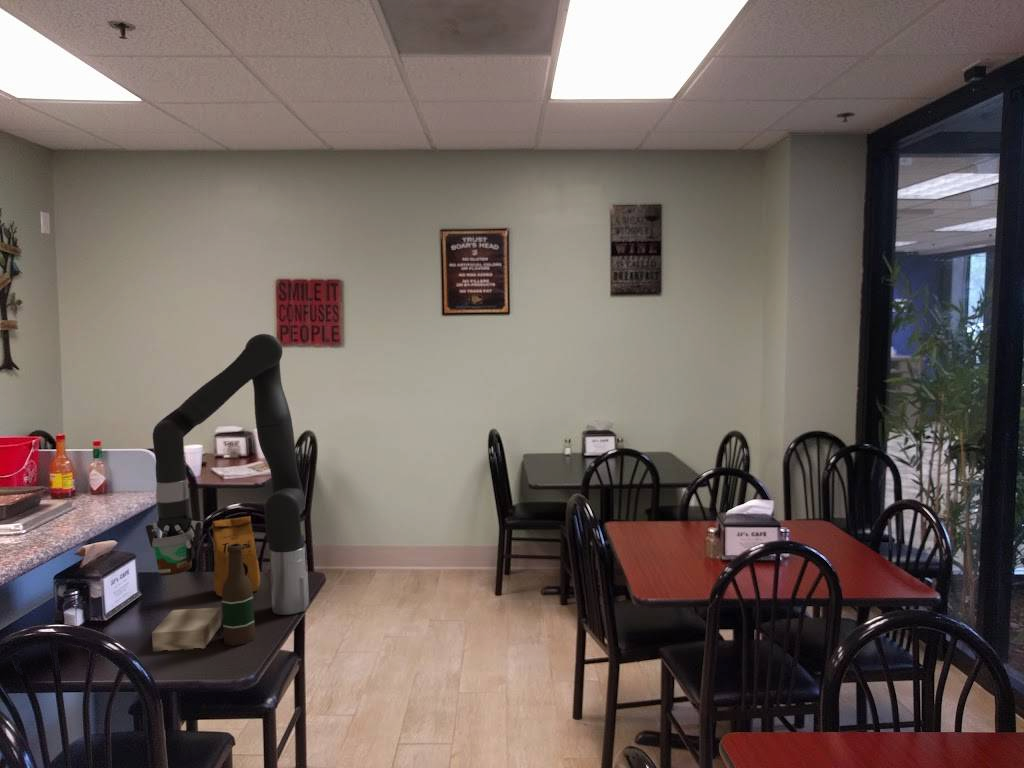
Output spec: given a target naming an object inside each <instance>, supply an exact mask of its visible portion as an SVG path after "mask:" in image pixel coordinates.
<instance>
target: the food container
mask: <svg viewBox="0 0 1024 768" xmlns="http://www.w3.org/2000/svg"><path fill="white" fill-rule="evenodd" d="M188 530H189V531H188V532H186V533H183V534H180V535H176V536H172V537H166V538H161V537H158V538H153V541H152V547H154V548H153V549H154V555H155V558H156V566H157V570H158V576H159V577H162V576H163V577H164V576H172V575H178V574H183V573H184V572H187V571H189V570H190V569H192V567H193V560H192V561H191V562H187V555H186V549H187V547H186V541H188V540H190V539H194V534H195V532H194V529H193V528H192V527H191V526H190V528H189V529H188ZM184 534H185V536H184ZM186 538H187V539H186ZM152 547H151V548H152Z"/></svg>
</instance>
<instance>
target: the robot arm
mask: <svg viewBox="0 0 1024 768" xmlns="http://www.w3.org/2000/svg"><path fill="white" fill-rule="evenodd" d="M283 353H284V351H283V347H282V344H281V342H280V341H279V339H278V338H277V337H276V336H274V335H272V334H269V333H268V334H267V333H259V334H257V335H254V336H252V337H250V339H248V341H247V342H246V344H245V347H244V349H242V351H241V353H240V354H239V355H238V356H237V357H236V358H235V359H234V360H233V361H232V363H230V364H229V365H228V366H227V367H226V368H225V369H223V370H222V371H221V372H219V373H218V374H217V375H215V376H214V377H213V378H211V379H210V380H209V381H207V382H206V383H204V384H203V385H202V386H201V387H200V388H198V389H197V390H196V391H195V392H194V393H192V394H191V395H190V396H189V397H188V398H187V399H186V400H184V401H183V402H182V404H180V406H179V407H177V408H176V409H174V410H173V411H172V412H170V413H169V414H167V415H166V416H165V417H163V418H162V419H161V420H160V421H159V422H158V423H156V425H155V426H154V428H153V432H152V444H153V450H154V451H153V452H154V457H155V478H156V480H155V481H156V486H155V487H156V488H155V493H156V494H155V499H156V507H157V518H158V519H157V522H150V523H148V524H147V525H146V526H145V531H146V533H147V538H148V541H149V546H150V547H151V548H153V549H154V547H152V541H153V538H159V537H158V533H157V531H158V529H159V530H160V531H161V532H162V534H161V537H160V538H166V537H172V536H176V535H180V534H183V533H186V532H188V531H189V530H188V529H189V528H190V527H191V526H192V530H193V531H194V537H193V538H192V539H190V540H188V541H186V547H187V549H186V555H187V562H191V561H192V562H193V559H195V546H198V545H199V544H200V543H201V542H202V538H203V530H204V520H201V519H200V520H199V521H197V520H193V519H192V517H191V510H190V509H191V508H190V507H191V506H190V494H189V493H190V492H189V484H188V480H187V467H186V462H185V457H184V455H185V450H184V446H185V443H184V438H185V436H186V435H187V434H189V433H190V432H191V431H193V429H194V428H195V427H197V426H198V425H201V424H203V422H206V420H207V419H209V418H210V417H211V416H212V415H213V414H214V413H216V412H217V411H218V410H219V409H220V408H221V407H222V406H223V405H224V404H225V403H227V402H228V401H229V399H231V398H232V397H233V396H234V395H235V394H236V393H237V392H238V391H240V389H241V388H243V387H244V386H245V385H247V383H249V382H250V381H252V385H253V397H254V398H253V399H254V402H253V404H254V416H255V417H254V418H255V425H256V426H255V427H256V434H257V441H258V445H259V448H260V450H261V452H262V454H263V456H264V459H265V461H266V462H267V463H266V464H267V466H268V467H269V471H270V476H271V485H272V486H271V487H272V494H271V495H270V496H269V497H268V498H267V499H266V502H265V505H264V524H265V535H266V536H265V537H266V541H267V543H268V551H269V569H270V586H271V587H270V590H271V606H272V607H271V610H272V612H273V614H276V615H280V616H288V615H295V614H298V613H303V612H306V611H307V609H308V607H309V604H310V596H309V595H310V594H309V593H310V592H309V576H308V575H309V573H308V572H309V571H308V570H306V566H307V565H306V548H305V545H306V544H305V536H304V534H302V526H301V515H302V513H303V512H304V511H305V508H306V507H305V506H306V498H305V493H304V489H303V485H302V483H301V479H300V475H299V470H298V463H297V452H296V444H295V443H296V442H295V436H294V434H295V433H294V428H293V421H292V415H291V411H290V407H289V403H288V401H287V398H286V394H285V391H284V389H283V383H282V377H281V360H282V356H283ZM184 536H185V534H184ZM186 539H187V538H186Z"/></svg>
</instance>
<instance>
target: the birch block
mask: <svg viewBox="0 0 1024 768" xmlns="http://www.w3.org/2000/svg"><path fill="white" fill-rule="evenodd" d="M221 626H222V606H221V607H204V608H203V607H202V608H188V609H172V610H171V611H170V612H169V613H168V614H167V616H166V617H165V618H164V619H163V620H162V621H161V622H160V623H159V625H157V626H156V628H155V629H154V630H153V631H152V632H151V638H152V651H153V652H163V651H162V650H168V651H182V650H181V649H184V650H194V649H193V648H201V649H206V647H207V646H208V644H209V643H210V642H211V640H212V639H213V637H214V636H215V634H216V633H217V632H218V630H219V629H220V628H221ZM206 645H207V646H206Z"/></svg>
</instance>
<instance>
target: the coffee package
mask: <svg viewBox="0 0 1024 768" xmlns="http://www.w3.org/2000/svg"><path fill="white" fill-rule="evenodd" d="M211 528H212V531H213V533H212V534H213V537H212V540H213V543H212V544H213V558H214V569H213V585H214V587H213V588H214V592H215V594H216V595H217V596H219V597H222V588H223V585H224V582H225V581H226V579H227V577H228V566H229V552H228V551H227V548H228V546H229V545H231V544H236V543H237V544H241V545H242V547H243V549H242V550H241V551H242V560H243V568H244V573H245V575H246V577H247V578H248V579H249V580H250V582H251V585H252V590H253V592H258V591H259V588H260V584H261V582H260V581H261V573H260V565H259V561H258V556H257V549H256V546H255V537H254V532H253V527H252V518H251V515H249V516H241V517H236V518H235V517H234V518H227V519H220V520H219V519H218V520H212V524H211Z"/></svg>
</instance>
